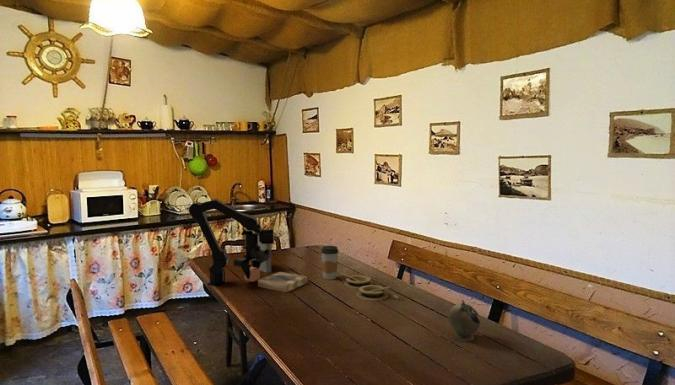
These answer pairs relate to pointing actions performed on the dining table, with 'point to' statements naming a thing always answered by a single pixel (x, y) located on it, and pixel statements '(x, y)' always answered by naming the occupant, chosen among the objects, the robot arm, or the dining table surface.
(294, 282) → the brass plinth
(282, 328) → the dining table surface
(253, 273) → the terracotta cube
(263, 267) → the hip flask
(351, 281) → the tableware set
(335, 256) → the coffee cup
